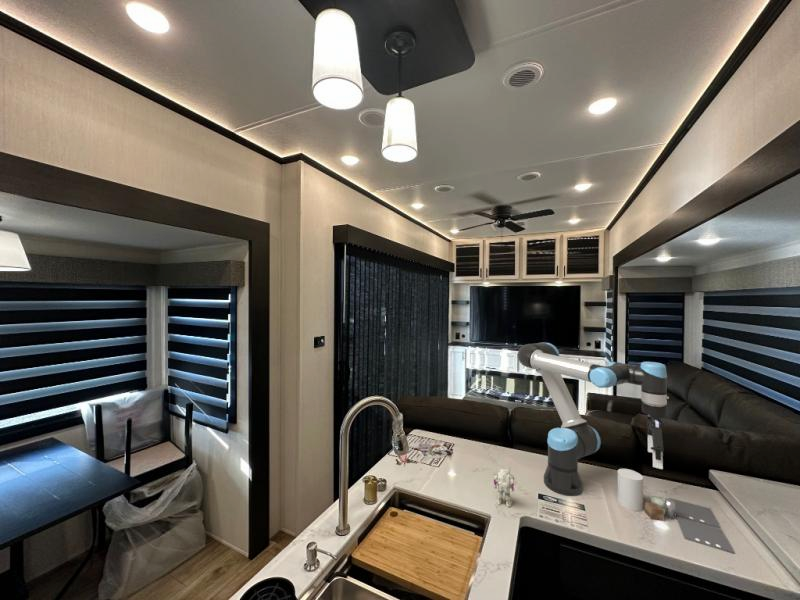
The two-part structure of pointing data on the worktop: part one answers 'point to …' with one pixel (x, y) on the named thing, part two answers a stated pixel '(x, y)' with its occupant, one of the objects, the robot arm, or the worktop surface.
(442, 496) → the worktop surface
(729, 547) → the pad three
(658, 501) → the pale green domed piece
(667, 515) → the metal peg
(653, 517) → the walnut block
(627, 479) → the white cylinder
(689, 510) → the pad two
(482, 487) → the worktop surface
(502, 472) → the figurine
